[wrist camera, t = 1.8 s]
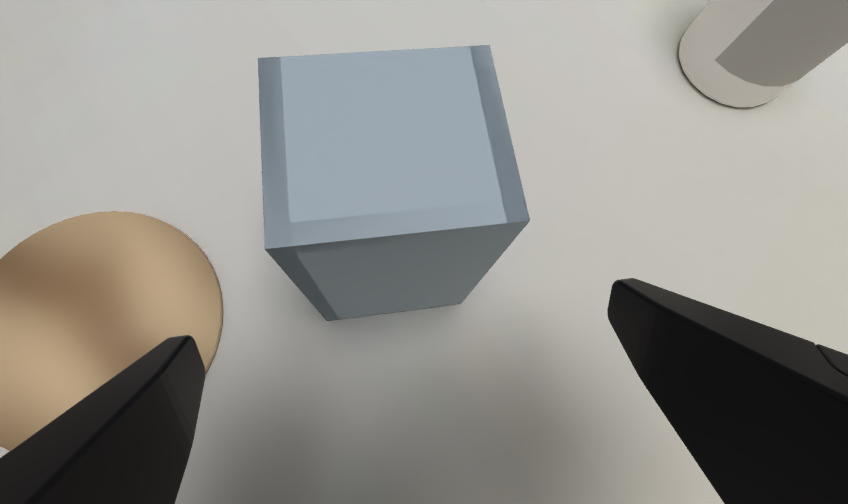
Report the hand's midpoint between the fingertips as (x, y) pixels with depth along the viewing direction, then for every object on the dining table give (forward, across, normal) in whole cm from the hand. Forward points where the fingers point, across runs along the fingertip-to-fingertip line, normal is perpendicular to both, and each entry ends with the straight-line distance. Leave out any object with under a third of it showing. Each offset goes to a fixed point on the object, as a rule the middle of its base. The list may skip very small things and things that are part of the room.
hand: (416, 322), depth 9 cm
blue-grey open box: (+12, 0, +5) cm, 13 cm away
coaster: (+11, +14, +6) cm, 18 cm away
